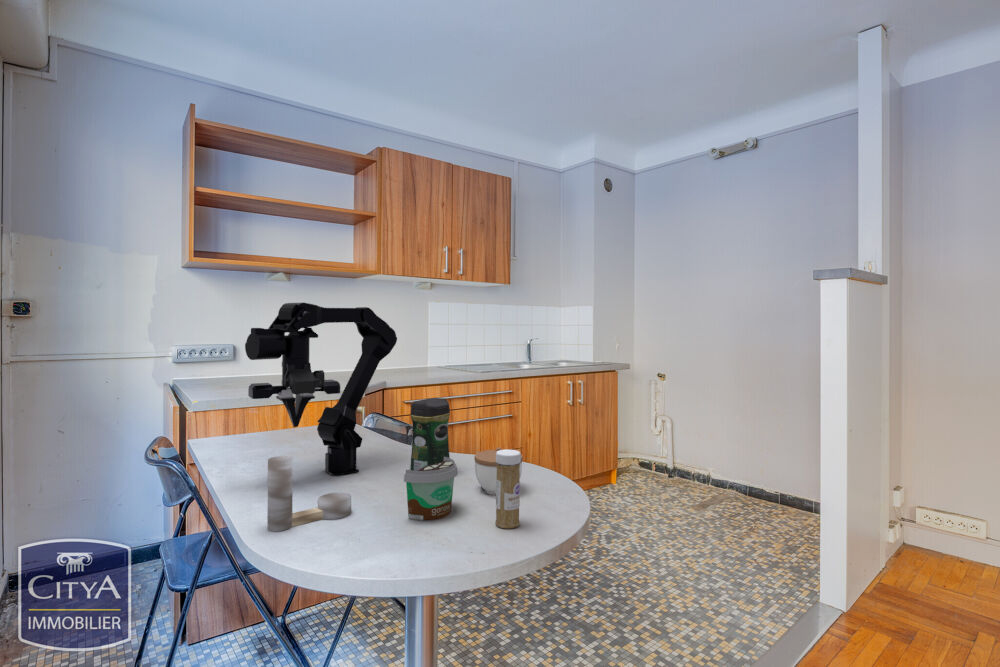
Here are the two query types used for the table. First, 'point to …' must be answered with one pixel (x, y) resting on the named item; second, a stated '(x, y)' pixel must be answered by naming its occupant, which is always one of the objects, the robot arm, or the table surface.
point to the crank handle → (282, 499)
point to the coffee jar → (429, 432)
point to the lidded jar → (488, 469)
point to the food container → (430, 490)
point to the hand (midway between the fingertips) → (295, 426)
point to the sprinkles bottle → (508, 488)
